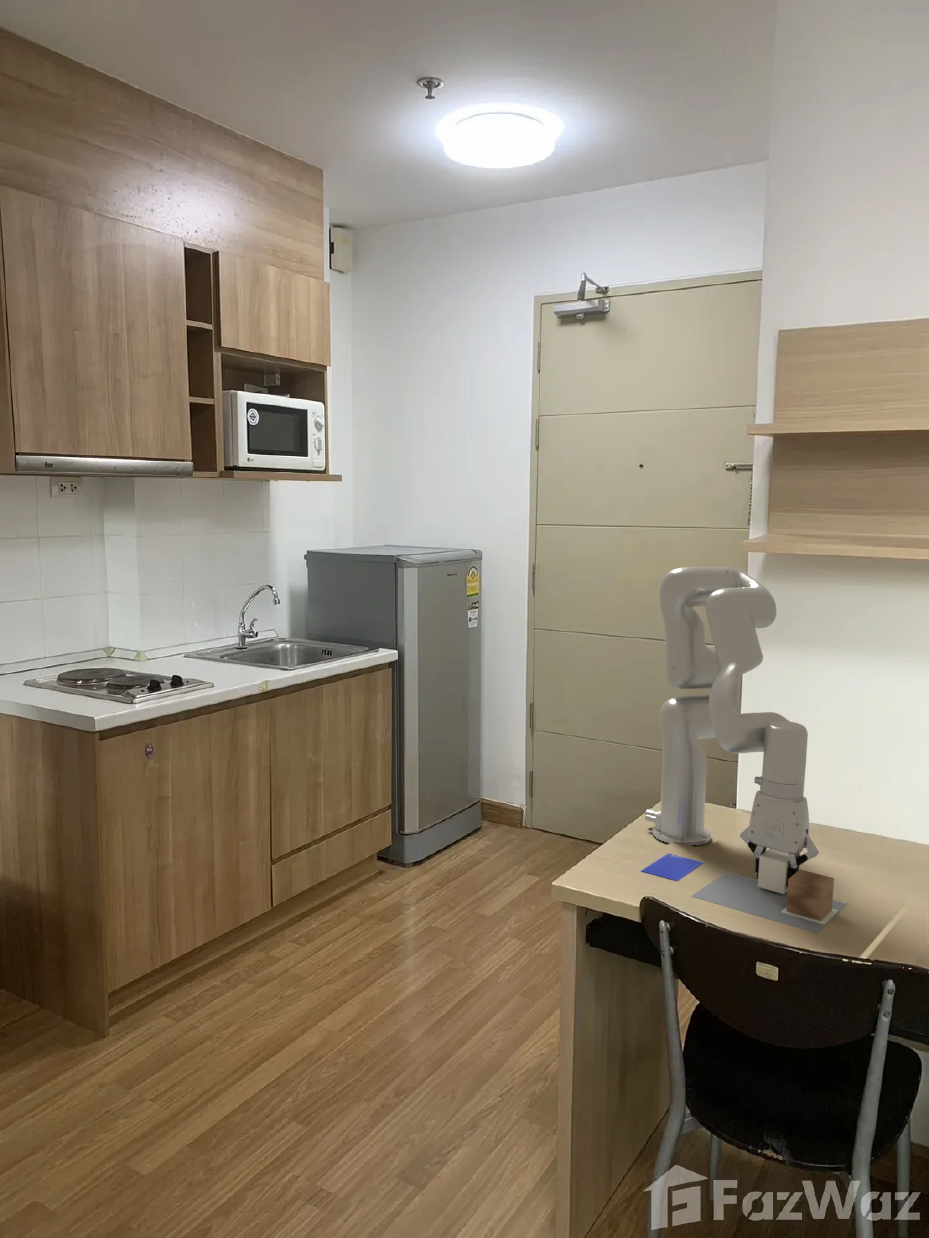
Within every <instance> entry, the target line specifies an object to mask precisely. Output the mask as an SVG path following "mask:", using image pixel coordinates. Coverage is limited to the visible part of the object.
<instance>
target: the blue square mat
mask: <svg viewBox="0 0 929 1238" xmlns="http://www.w3.org/2000/svg"><path fill="white" fill-rule="evenodd" d="M704 864H705V863H704V862H703V861H699V860H696V859H692V858H689V857H683V856H680V855H678V854H677V855H676V854H672V853H666V854H665V855H664V856H661V857H660V858H658V859H657V860H655V861H654V862H652V863H651V864H649V865H647V866H646V867H645V868H643V869H641V870H640V872H642V873H645V874H649V875H651V876H652V875H653V876H656V877H659V878H662V879H666V880H670V881H675V882H679V881H680V880H681V879H683V878H685V877H686V876H688V875H689V874H691V873H693V872H694V871H695V870H696V869H698V868H700V867H701V866H702V865H704Z"/></svg>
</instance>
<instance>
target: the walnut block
mask: <svg viewBox="0 0 929 1238" xmlns="http://www.w3.org/2000/svg"><path fill="white" fill-rule="evenodd" d="M834 887H835V878H834V877H831V876H828V875H824V874H820V873H817V872H812V871H808V870H804V869H800V868H799V871H798V872H797V873H795V874H794V875H793V876H792V877H790V878H789V879H788V894H787V912H790V913H794V914H797V915H801V916H804V917H808V918H811V919H815V920H818V921H821V920H822V919H823V918H825V917H826V916H827V915H828V914H829V913H830V912H831V911H832V903H833V900H834Z"/></svg>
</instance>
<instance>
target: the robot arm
mask: <svg viewBox="0 0 929 1238" xmlns="http://www.w3.org/2000/svg"><path fill="white" fill-rule="evenodd" d="M658 591H659V592H658V593H659V594H658V595H659V596H658V597H659V605H660V606H659V607H660V610H661V614H662V618H663V623H664V632H665V633H664V643H665V644H664V645H665V647H664V648H665V649H664V651H665V652H664V654H665V673H666V674H665V675H666V680H667V682H668V684H669V685H670V686H671V687H672V688H674V689H678V690H704V689H705V690H708V694H694V695H680V696H676V697H670V698H669V699H667V700H666V701H665V702H663V704H662V705H661V707H660V711H659V724H660V730H661V731H660V732H661V737H662V738H661V740H662V760H661V761H662V763H661V764H662V765H661V766H662V767H661V784H660V785H661V789H660V790H661V791H660V811H655V810H652V809H647V810H646V811H645V813H644V815H645V818H644V820H645V821H647V822H652V823H653V824H655V825H654V826H653V828H652V832H651V833H653V834H652V836H653V835H654V836H655V837H656V838H655V837H654V836H653V837H654V838H655V839H657V840H658V839H659V840H658V841H660V840H661V841H660V842H663V841H664V842H663V843H666V842H667V844H672V843H677V844H680V845H681V844H682V845H684V846H685V845H686V846H689V847H693V845H696V846H701V845H705V844H707V843H709V842H710V841H711V837H712V836H711V832H710V831H709V830H708V829H707V828H705V813H706V812H705V810H706V794H707V793H706V791H707V788H706V787H707V768H708V767H707V766H708V762H707V761H708V760H707V757H706V756H707V755H706V754H705V751H704V750H703V748H702V747H701V745H700V744H699V740H704V739H705V740H706V739H714V738H715V739H716V740H717V742H718V744H719V746H720V747H721V748H722V749H723V750H724V751H726V752H728V753H730V754H747V753H763V756H762V771H761V776H755V777H754V779H753V780H754V781H753V782H754V784H757V785H759V790H757V791H756V793H755V796H754V799H753V802H752V809H751V813H750V818H749V819H750V820H749V824H748V825H749V826H747V828H744V830H743V831H742V832H741V833H740V834H739V836H740V838H741V840H742V841H744V843H745V844H747V846H748V849H749V850H750V852H752V854H753V857H754V858H755V868H754V872H755V873H756V879H757V880H758V874H759V859H760V856H761V855H762V854H763V853H765V852H766V851H767V849H773V850H776V851H780V852H784V853H788V856H789V861H790V866H789V867H788V870H787V884H786V886H787V888H788V879H789V878H790V877H792V876H793V875H794V874H795V873H797V872H798V871H799V870H800V866H801V865H802V864H804V863H805V862H808V861H809V860H811V859H813V858H816V857H817V856H818V855H819V854H820V851H819V849H818V848H817V846H816V845H815V843H814V841H813V840H812V839H811V837H810V817H809V816H810V814H809V806H808V800H807V797H806V796H805V795H804V792H805V782H806V780H805V779H806V768H807V767H806V766H807V765H806V764H807V751H808V740H809V739H808V737H809V734H808V729H807V728H806V727H805V726H804V725H803V724H801V723H799V722H794V721H790V719H788V718H786V717H785V716H783V715H781V714H780V713H778V712H772V711H767V712H766V711H765V712H764V711H763V712H745V713H740V676H742V675H744V674H746V673H748V672H751V671H752V670H754V669H756V668H757V667H758V666H760V665H761V664H762V663H763V659H764V654H763V651H762V649H761V645H760V641H759V638H758V633H757V631H756V629H764V628H768V627H770V626H771V625H772V624H773V623H774V621H775V619H776V616H777V604H776V601H775V599H774V597H773V595H772V594H771V593H770V591H769V590H768V589H767V588H766V587H765V586H764V585H763V584H761V583H760V582H758V581H757V580H755V579H754V578H753V577H751V576H750V575H749V574H747V573H745V571H743V570H741V569H740V568H737V567H731V566H684V567H678V568H674V569H672V570H670V571H668V572H667V573H666V574H665V576H664V577H663V579H662V580H661V582H660V586H659V590H658ZM694 607H705V614H706V618H707V621H708V625H709V629H710V633H711V638H712V640H713V645H712V644H711V645H706V637H705V636H706V628H705V624H704V621H703V620H702V618H701V615H700V614H699V613H698V611H697V610H696V609H695V608H694ZM804 849H806V851H807V852H805V853H803V854H801V852H802V851H803V850H804Z"/></svg>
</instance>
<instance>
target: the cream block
mask: <svg viewBox="0 0 929 1238" xmlns="http://www.w3.org/2000/svg"><path fill="white" fill-rule="evenodd" d="M789 866H790V861H789V856H788V853H785V852H781V851H777V850H773V849H770V848H768V850H767V849H766V852H765V853H763V854H762V855H761V856H760V859H759V874H758V879H757V880H758V887H761V888H764V889H768V890H771V891H775V892H778V893H782V894H785V893H786V892H787V891H788V888H787V886H786V884H787V870H788V867H789Z"/></svg>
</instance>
